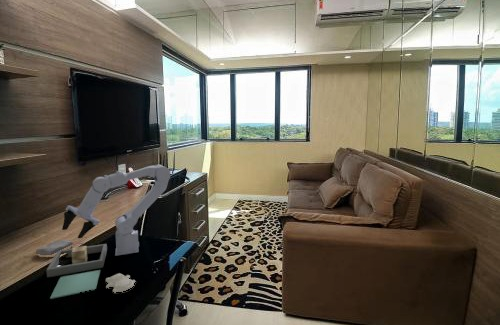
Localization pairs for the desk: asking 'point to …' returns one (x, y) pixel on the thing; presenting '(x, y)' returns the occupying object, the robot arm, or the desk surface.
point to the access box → (78, 267)
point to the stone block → (54, 247)
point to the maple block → (79, 254)
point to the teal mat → (76, 284)
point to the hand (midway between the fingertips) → (71, 233)
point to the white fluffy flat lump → (120, 282)
